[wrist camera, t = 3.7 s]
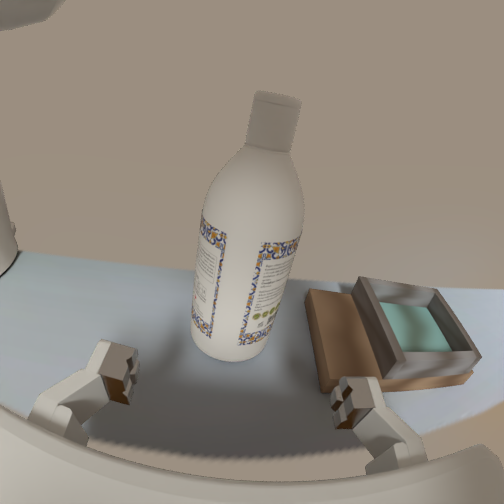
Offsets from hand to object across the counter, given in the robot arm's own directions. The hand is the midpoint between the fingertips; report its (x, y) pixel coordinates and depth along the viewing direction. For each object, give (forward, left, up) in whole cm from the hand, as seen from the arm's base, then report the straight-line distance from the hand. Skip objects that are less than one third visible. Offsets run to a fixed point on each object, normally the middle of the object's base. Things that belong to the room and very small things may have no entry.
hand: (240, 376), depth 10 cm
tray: (+17, +12, -10) cm, 23 cm away
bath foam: (0, +12, -10) cm, 16 cm away
